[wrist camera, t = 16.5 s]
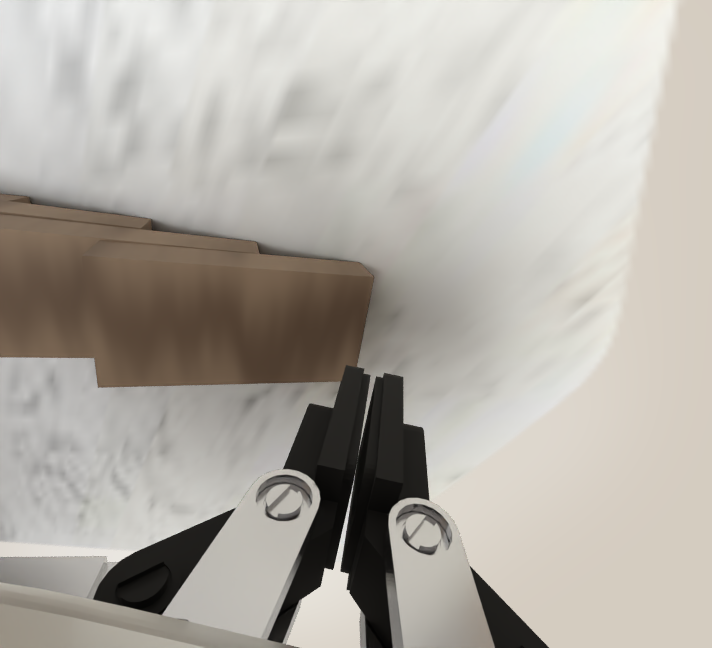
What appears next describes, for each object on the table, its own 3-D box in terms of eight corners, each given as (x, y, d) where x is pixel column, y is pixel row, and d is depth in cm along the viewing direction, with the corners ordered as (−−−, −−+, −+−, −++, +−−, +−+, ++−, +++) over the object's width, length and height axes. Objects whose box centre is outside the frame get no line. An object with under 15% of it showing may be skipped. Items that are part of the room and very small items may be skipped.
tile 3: (145, 335, 18) (-145, 323, 15) (154, 317, 19) (-103, 303, 16) (140, 228, 16) (-196, 188, 13) (151, 218, 17) (-142, 182, 14)
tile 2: (251, 359, 18) (-25, 357, 14) (249, 338, 19) (2, 332, 16) (259, 253, 16) (-59, 222, 12) (256, 241, 17) (-24, 211, 14)
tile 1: (354, 380, 17) (98, 387, 14) (342, 358, 19) (111, 359, 16) (374, 277, 15) (81, 255, 12) (359, 262, 17) (99, 240, 14)
